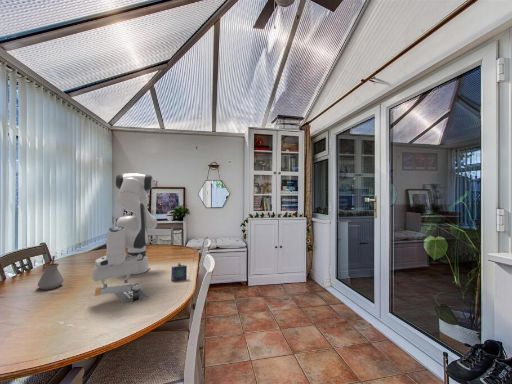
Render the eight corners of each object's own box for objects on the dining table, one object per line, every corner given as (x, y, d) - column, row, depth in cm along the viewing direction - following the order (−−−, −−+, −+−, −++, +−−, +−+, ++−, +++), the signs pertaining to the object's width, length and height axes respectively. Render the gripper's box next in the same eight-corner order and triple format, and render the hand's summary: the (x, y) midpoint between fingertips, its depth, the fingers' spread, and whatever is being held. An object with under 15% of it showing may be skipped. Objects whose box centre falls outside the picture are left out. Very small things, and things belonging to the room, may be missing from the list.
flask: (171, 281, 150) (171, 264, 150) (171, 280, 153) (171, 263, 153) (186, 280, 153) (186, 263, 153) (186, 278, 155) (186, 261, 156)
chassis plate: (114, 294, 129) (114, 293, 129) (137, 289, 137) (137, 287, 137) (124, 306, 116) (124, 304, 116) (149, 299, 124) (149, 297, 124)
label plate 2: (126, 295, 126) (126, 294, 126) (135, 293, 129) (135, 292, 129) (129, 298, 122) (129, 298, 122) (138, 296, 125) (138, 295, 125)
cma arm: (94, 296, 114) (94, 290, 114) (97, 292, 118) (97, 287, 118) (140, 291, 120) (140, 285, 120) (141, 288, 125) (141, 282, 125)
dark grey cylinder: (132, 299, 122) (132, 290, 122) (137, 297, 124) (138, 288, 124) (133, 301, 120) (134, 291, 120) (139, 299, 122) (140, 290, 122)
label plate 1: (122, 291, 131) (122, 291, 131) (131, 289, 134) (131, 288, 134) (125, 294, 127) (125, 294, 127) (134, 292, 130) (134, 291, 130)
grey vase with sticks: (62, 288, 137) (63, 261, 138) (35, 292, 131) (36, 265, 131) (65, 277, 155) (65, 254, 155) (41, 281, 148) (41, 256, 148)
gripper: (135, 253, 133) (135, 278, 133) (91, 260, 119) (91, 288, 119) (139, 256, 129) (139, 281, 129) (94, 263, 115) (93, 292, 115)
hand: (115, 285), depth 124 cm, fingers open, 8 cm apart
